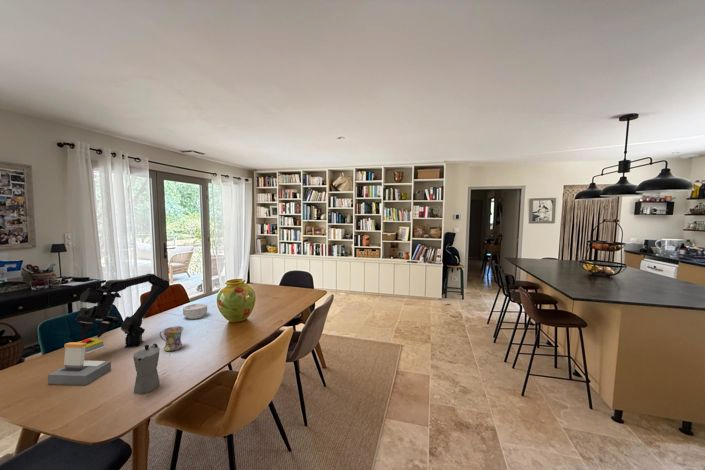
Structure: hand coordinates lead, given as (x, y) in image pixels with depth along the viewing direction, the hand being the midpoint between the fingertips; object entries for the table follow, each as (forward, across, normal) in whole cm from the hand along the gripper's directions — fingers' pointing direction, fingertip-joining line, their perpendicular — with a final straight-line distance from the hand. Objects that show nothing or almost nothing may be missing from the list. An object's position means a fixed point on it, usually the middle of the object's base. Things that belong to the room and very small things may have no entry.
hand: (90, 337), depth 136 cm
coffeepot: (+12, +15, +44) cm, 48 cm away
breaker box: (+14, +9, +10) cm, 20 cm away
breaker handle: (+10, +12, +8) cm, 17 cm away
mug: (+1, -17, +31) cm, 35 cm away
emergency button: (+8, -17, -12) cm, 23 cm away
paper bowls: (-15, -63, +15) cm, 67 cm away
